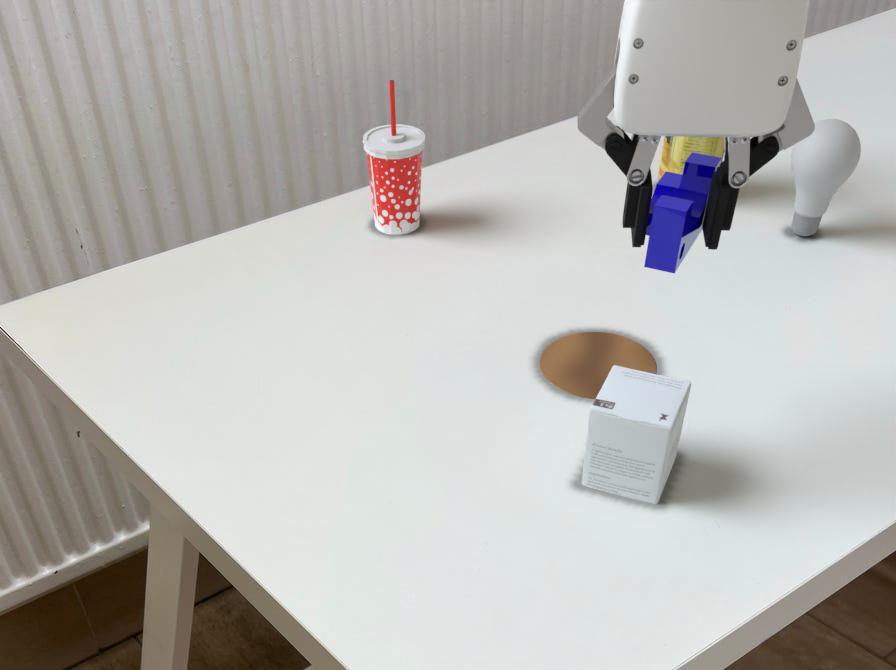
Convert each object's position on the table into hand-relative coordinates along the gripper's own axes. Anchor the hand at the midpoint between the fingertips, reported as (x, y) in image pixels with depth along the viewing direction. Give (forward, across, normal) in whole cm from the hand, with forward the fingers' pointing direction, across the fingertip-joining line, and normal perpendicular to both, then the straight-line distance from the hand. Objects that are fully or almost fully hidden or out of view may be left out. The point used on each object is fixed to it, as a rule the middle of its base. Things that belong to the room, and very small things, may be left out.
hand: (673, 235), depth 64 cm
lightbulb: (+18, -18, -34) cm, 43 cm away
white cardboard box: (+17, +1, +4) cm, 18 cm away
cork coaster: (+17, +3, -10) cm, 20 cm away
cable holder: (+1, 0, 0) cm, 1 cm away
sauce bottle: (+18, -7, -42) cm, 46 cm away
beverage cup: (+17, +23, -34) cm, 45 cm away
